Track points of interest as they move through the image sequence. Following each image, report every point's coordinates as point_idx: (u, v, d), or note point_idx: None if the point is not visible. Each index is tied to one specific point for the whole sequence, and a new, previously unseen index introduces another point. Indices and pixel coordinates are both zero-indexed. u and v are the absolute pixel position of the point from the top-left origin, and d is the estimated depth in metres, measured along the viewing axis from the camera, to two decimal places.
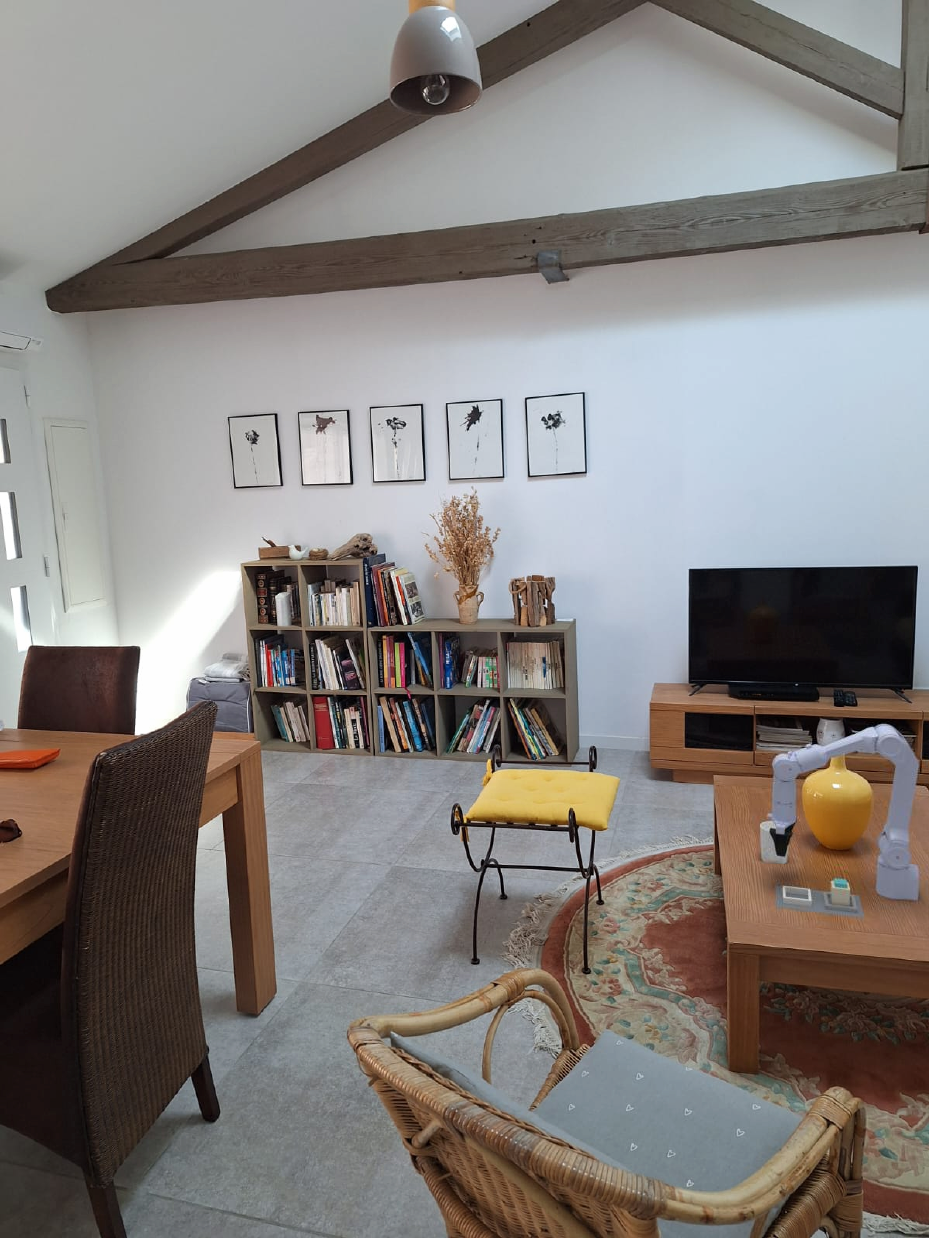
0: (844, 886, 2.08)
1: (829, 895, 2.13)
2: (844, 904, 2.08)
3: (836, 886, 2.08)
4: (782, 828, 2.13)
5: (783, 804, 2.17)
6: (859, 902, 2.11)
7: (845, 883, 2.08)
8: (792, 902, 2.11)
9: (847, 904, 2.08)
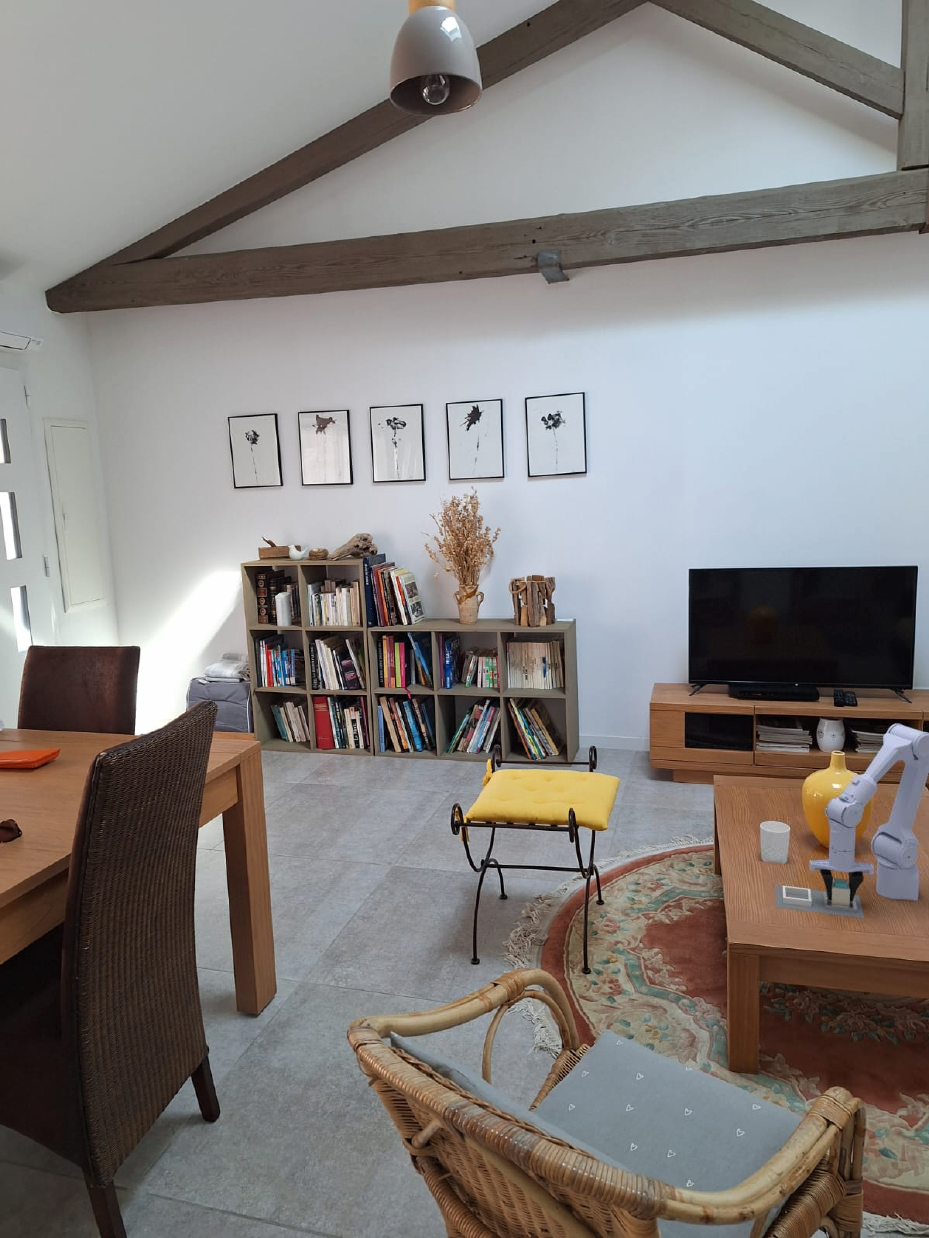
0: (844, 886, 2.08)
1: None
2: (844, 904, 2.08)
3: (836, 886, 2.08)
4: (810, 864, 2.09)
5: (829, 846, 2.08)
6: (859, 902, 2.11)
7: (845, 883, 2.08)
8: (792, 902, 2.11)
9: (847, 904, 2.08)
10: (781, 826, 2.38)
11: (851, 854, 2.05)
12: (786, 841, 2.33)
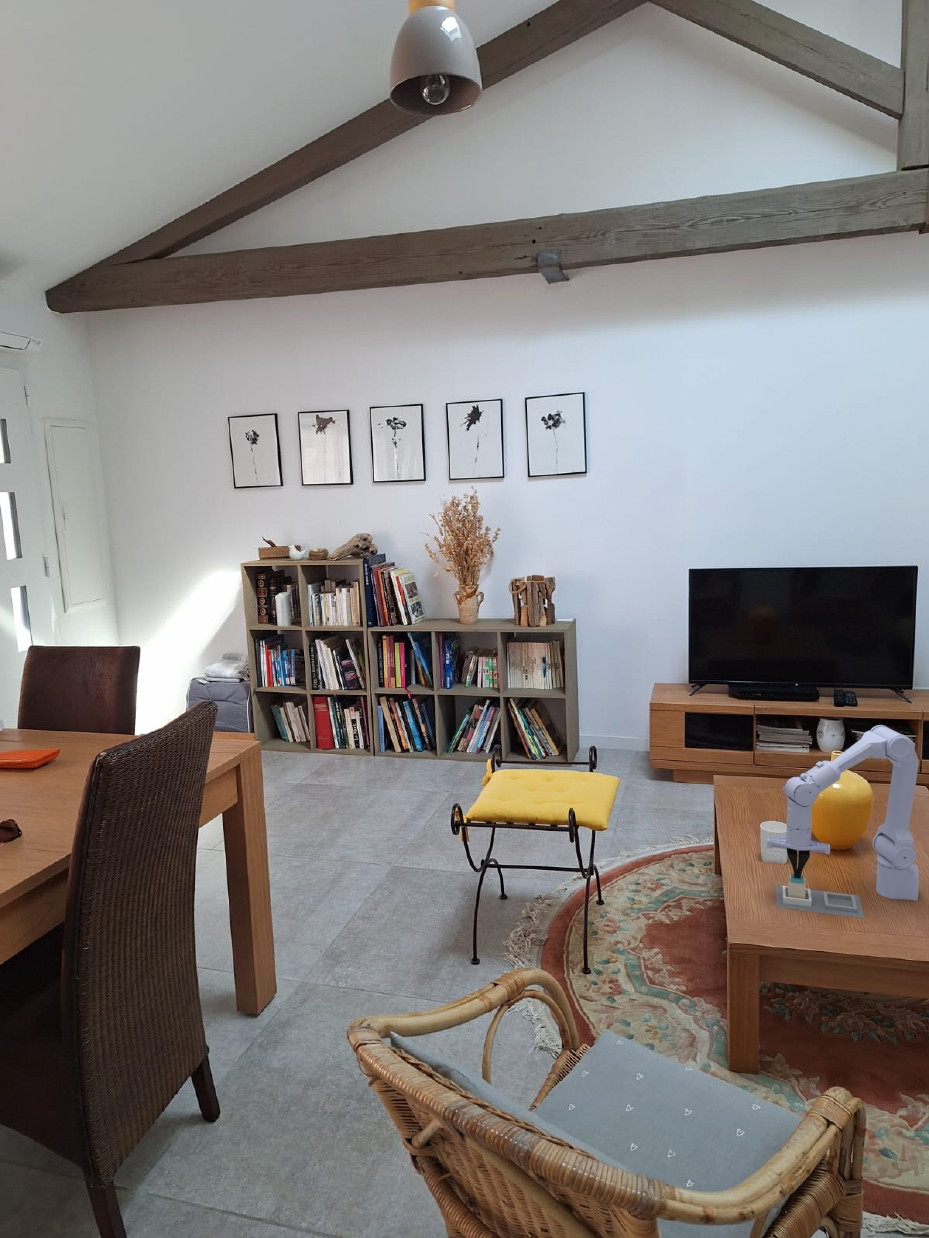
0: (800, 881, 2.11)
1: (829, 895, 2.13)
2: None
3: (792, 881, 2.12)
4: None
5: None
6: (859, 902, 2.11)
7: (801, 878, 2.11)
8: (792, 902, 2.11)
9: None
10: (781, 826, 2.38)
11: (806, 833, 2.08)
12: None
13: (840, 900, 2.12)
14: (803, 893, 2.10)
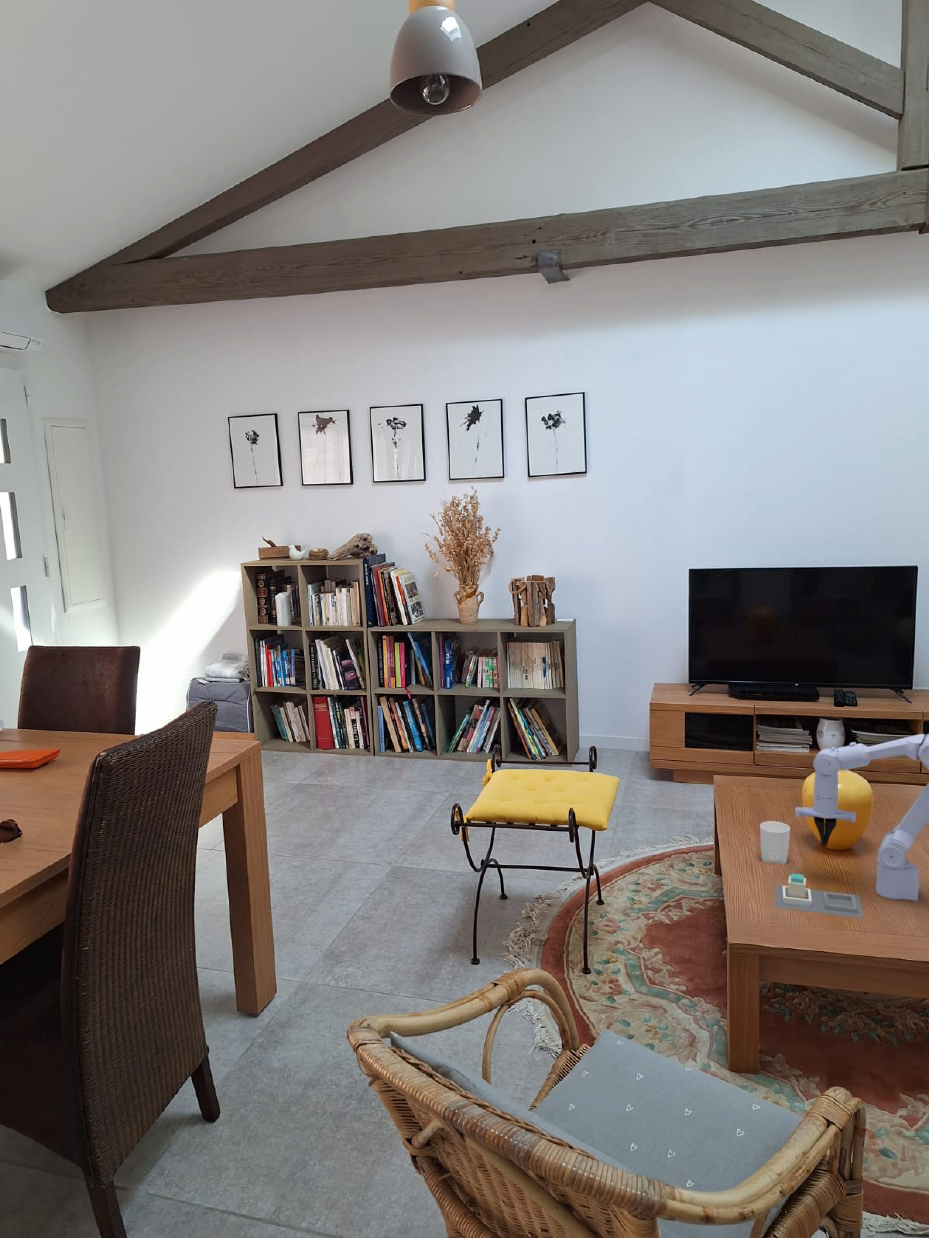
0: (800, 881, 2.11)
1: (829, 895, 2.13)
2: None
3: (792, 881, 2.12)
4: (795, 810, 2.23)
5: (814, 794, 2.21)
6: (859, 902, 2.11)
7: (801, 878, 2.11)
8: (792, 902, 2.11)
9: None
10: (781, 826, 2.38)
11: (833, 801, 2.18)
12: (786, 841, 2.33)
13: (840, 900, 2.12)
14: (803, 893, 2.10)
